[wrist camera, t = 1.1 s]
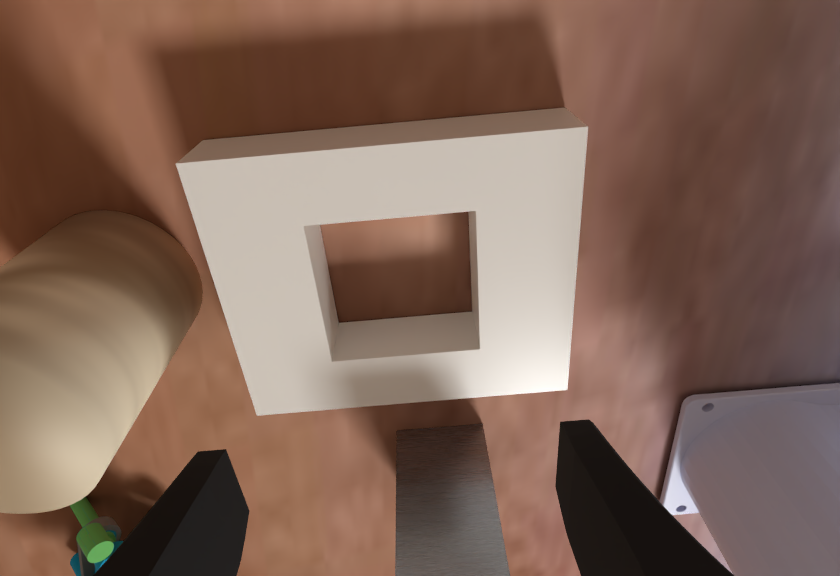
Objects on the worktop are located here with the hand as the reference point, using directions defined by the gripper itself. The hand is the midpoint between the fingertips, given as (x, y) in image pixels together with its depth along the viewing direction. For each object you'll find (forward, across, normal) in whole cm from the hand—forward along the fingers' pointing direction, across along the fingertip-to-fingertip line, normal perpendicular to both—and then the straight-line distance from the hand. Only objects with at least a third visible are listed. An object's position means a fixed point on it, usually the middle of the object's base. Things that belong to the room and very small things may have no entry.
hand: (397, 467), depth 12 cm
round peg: (+10, +10, 0) cm, 14 cm away
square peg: (+10, -1, +11) cm, 15 cm away
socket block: (+10, 0, 0) cm, 10 cm away
